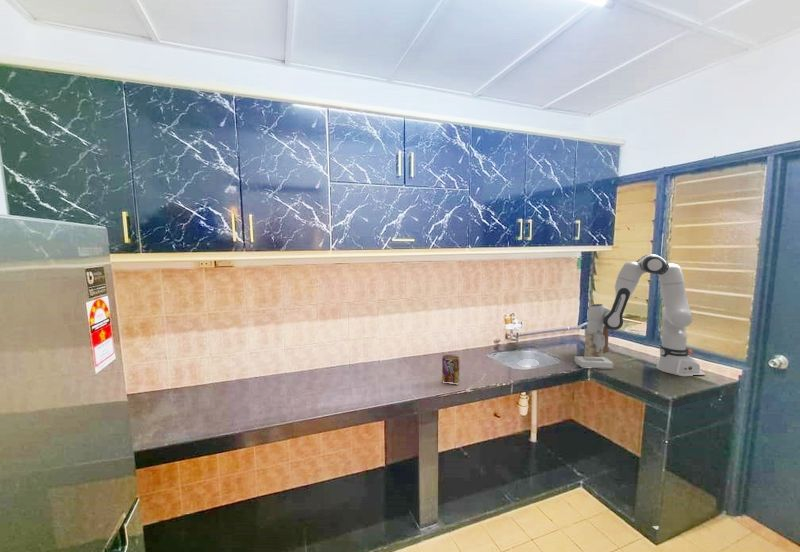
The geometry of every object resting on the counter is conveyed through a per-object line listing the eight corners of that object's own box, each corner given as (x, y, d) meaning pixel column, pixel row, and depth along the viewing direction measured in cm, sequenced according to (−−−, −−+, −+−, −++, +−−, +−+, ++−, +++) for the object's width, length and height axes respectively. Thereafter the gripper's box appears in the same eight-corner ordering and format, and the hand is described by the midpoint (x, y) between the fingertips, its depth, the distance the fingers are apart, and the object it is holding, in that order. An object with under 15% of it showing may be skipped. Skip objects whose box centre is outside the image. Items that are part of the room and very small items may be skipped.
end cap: (604, 363, 210) (604, 357, 209) (612, 369, 200) (613, 363, 199) (574, 362, 211) (574, 356, 211) (581, 368, 202) (581, 362, 201)
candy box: (459, 382, 182) (459, 355, 180) (458, 385, 178) (458, 358, 176) (443, 380, 185) (443, 353, 183) (441, 383, 181) (442, 356, 179)
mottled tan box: (600, 358, 219) (601, 334, 217) (602, 359, 216) (604, 335, 214) (584, 357, 220) (585, 334, 218) (586, 359, 217) (587, 335, 215)
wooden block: (591, 351, 231) (593, 326, 229) (604, 350, 234) (606, 325, 232) (595, 353, 228) (597, 327, 226) (608, 352, 230) (610, 326, 228)
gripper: (608, 333, 205) (607, 355, 207) (592, 324, 225) (591, 344, 227) (598, 333, 206) (596, 354, 207) (583, 324, 226) (581, 344, 227)
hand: (593, 349), depth 217 cm, fingers open, 8 cm apart
